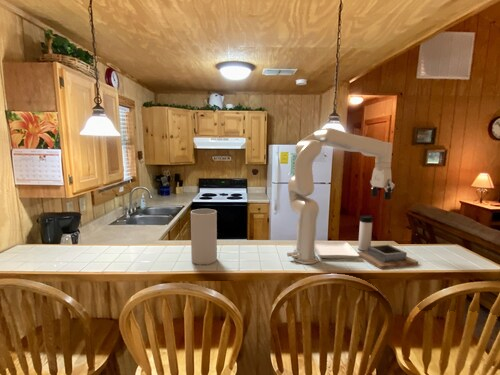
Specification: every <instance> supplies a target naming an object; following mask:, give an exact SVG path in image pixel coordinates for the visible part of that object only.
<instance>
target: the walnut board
mask: <svg viewBox="0 0 500 375" xmlns="http://www.w3.org/2000/svg"><path fill="white" fill-rule="evenodd" d="M356 252H357V253H358V254H359V255H360V256H359V257H358V258H360V259H362V260H363V261H366V262H367V263H369V264H370V265H372V266H374V267H376V268H378V270H386V269H387V270H388V269H393V268H401V267H410V266H419V261H418V260H416V259H413V258H411V257H409V256H407V255H406V261H398V262H389V263H384V262H382V261H380V260H378V259H376V258H375V257H373V256H371V255H369V254H367V253H368V251H366V252H361V251H359V252H358V251H356ZM385 254H387V253H385Z"/></svg>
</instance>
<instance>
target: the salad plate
mask: <svg viewBox="0 0 500 375" xmlns="http://www.w3.org/2000/svg"><path fill="white" fill-rule="evenodd" d="M357 252H358V251H356V249H354V248H353V247H352V246H351V245H350V244H349V243H348V242H347V241H336V240H335V241H331V240H330V241H329V240H328V241H327V240H316V250H315V253H316V254H317V257H318V258H323V259H338V260H339V259H343V260H344V259H345V260H346V259H351V260H352V259H357V258H360V257H359V256H360V255H359V254H358V253H357Z"/></svg>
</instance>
